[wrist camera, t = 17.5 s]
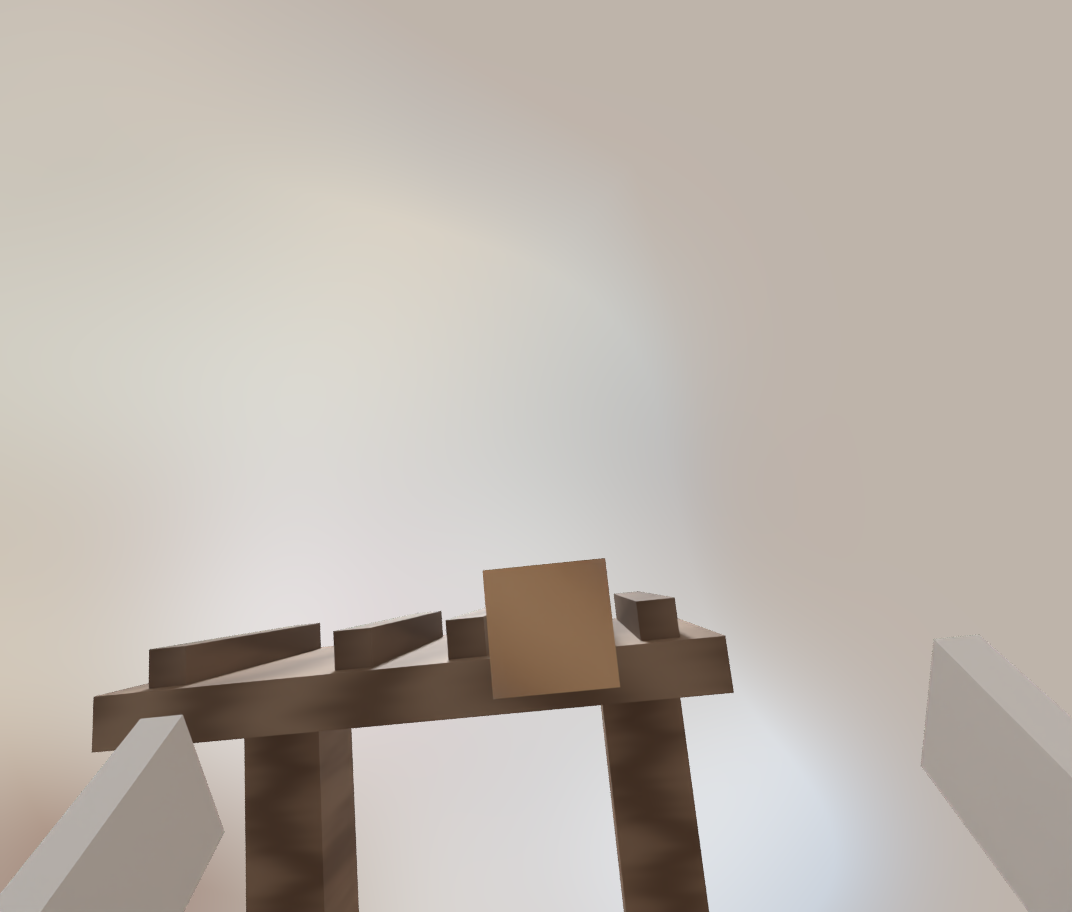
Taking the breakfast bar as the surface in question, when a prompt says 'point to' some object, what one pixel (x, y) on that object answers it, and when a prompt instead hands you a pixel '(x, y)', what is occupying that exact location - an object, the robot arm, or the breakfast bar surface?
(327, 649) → the stand
